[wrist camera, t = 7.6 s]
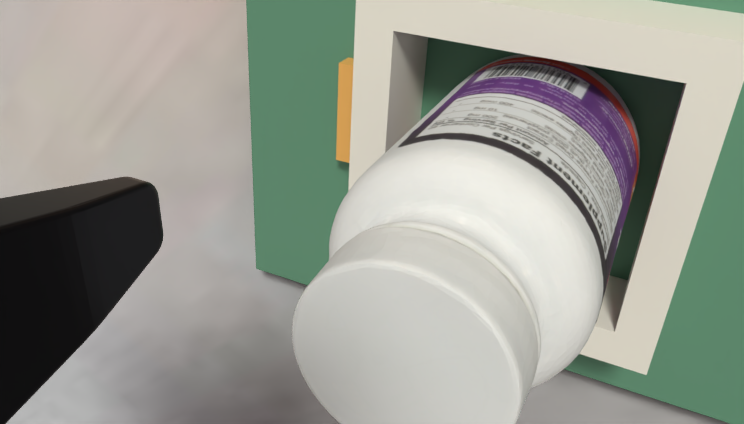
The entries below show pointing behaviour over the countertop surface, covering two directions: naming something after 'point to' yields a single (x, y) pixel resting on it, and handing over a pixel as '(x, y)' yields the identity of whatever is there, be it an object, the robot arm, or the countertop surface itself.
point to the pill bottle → (472, 251)
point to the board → (553, 41)
